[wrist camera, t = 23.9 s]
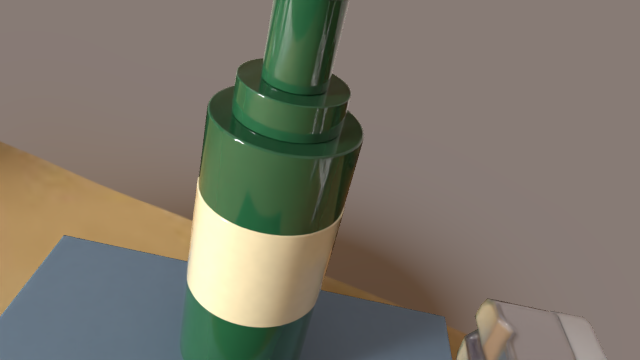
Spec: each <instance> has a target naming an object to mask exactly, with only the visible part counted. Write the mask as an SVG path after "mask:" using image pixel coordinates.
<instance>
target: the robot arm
mask: <svg viewBox="0 0 640 360" xmlns="http://www.w3.org/2000/svg"><path fill="white" fill-rule="evenodd" d="M475 319H476V323H477V328H478V329H477V330H475V331H474V332H472V333H470V334H468V335H466V336H465V337H464V339H463V341H462V343H461V345H460V348H459V350H458V353H457V358H456V360H608V359H607V357H606V355H605V353H604V351H603V349H602V347H601V345H600V343H599V340H598V338H597V336H596V335H595V332H594V330H593V328H592V326H591V324H590V323H589V322H588V321H587V320H586V319H585V318H584V317H580V316H575V315H570V314H564V313H559V312H554V311H550V312H549V311H545V310H540V309H536V308H531V307H526V306H521V305H517V304H512V303H508V302H502V301H498V300H493V299H486V300H485V301H484V302H483V303H482V304H481V306H480V308H479V309H478V311H477V313H476V315H475Z"/></svg>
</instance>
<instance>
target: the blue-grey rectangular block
mask: <svg viewBox="0 0 640 360" xmlns="http://www.w3.org/2000/svg"><path fill="white" fill-rule="evenodd" d="M187 264H188V262H187V261H183V260H178V259H173V258H169V257H164V256H159V255H155V254H150V253H145V252H141V251H136V250H131V249H127V248H122V247H117V246H113V245H108V244H103V243H99V242H94V241H89V240H85V239H80V238H75V237H71V236H66V235H64V236H63V237H62V238H61V240H60V241H59V242H58V244H57V245H56V246H55V247H54V249H53V250H52V251H51V252H50V254H49V255H48V256H47V258H46V259H45V260H44V261H43V263H42V264H41V265H40V267H39V268H38V269H37V270H36V272H35V273H34V274H33V275H32V277H31V278H30V279H29V281H28V282H27V283H26V284H25V286H24V287H23V288H22V289H21V291H20V292H19V293H18V295H17V296H16V297H15V298H14V300H13V301H12V302H11V304H10V305H9V306H8V307H7V309H6V310H5V311H4V312H3V314H2V315H1V316H0V360H183V357H182V355H181V351H180V343H179V340H180V331H181V323H182V315H183V306H184V298H185V290H186V282H187V276H186V272H187ZM300 360H452V356H451V350H450V345H449V339H448V333H447V327H446V321H445V317H443V316H439V315H435V314H430V313H425V312H420V311H416V310H411V309H407V308H402V307H397V306H393V305H388V304H383V303H379V302H374V301H369V300H365V299H360V298H355V297H351V296H346V295H341V294H337V293H332V292H327V291H323V290H321V291H320V295H319V298H318V300H317V302H316V305H315V308H314V312H313V315H312V319H311V322H310V326H309V329H308V332H307V336H306V339H305V343H304V346H303V350H302V353H301V357H300Z"/></svg>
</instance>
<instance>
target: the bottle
mask: <svg viewBox="0 0 640 360" xmlns="http://www.w3.org/2000/svg"><path fill="white" fill-rule="evenodd" d="M348 5H349V0H273V6H272V12H271V17H270V24H269V30H268V35H267V41H266V47H265V53H264V58H263V59H255V60H250V61H247V62H245V63H243V64H242V65H240V67H239V68H238V69H237V73H236V80H235V86H231V87H228V88H225V89H223V90H221V91H219V92H218V93H216V94H215V95H214V96H213V97H212V98H211V99H210V101H209V103H208V108H207V116H206V125H205V132H204V140H203V149H202V157H201V166H200V174H199V177H198V180H197V189H196V197H195V205H194V214H193V222H192V230H191V239H190V247H189V255H188V264H187V272H186V276H187V282H186V290H185V298H184V306H183V315H182V323H181V331H180V340H179V343H180V351H181V355H182V357H183V360H300V357H301V353H302V350H303V346H304V343H305V339H306V336H307V332H308V329H309V326H310V322H311V319H312V315H313V312H314V308H315V305H316V302H317V300H318V298H319V295H320V291H321V288H322V285H323V281H324V278H325V274H326V271H327V267H328V264H329V260H330V257H331V254H332V250H333V247H334V243H335V240H336V236H337V233H338V230H339V226H340V223H341V219H342V216H343V212H344V205H345V201H346V197H347V194H348V191H349V187H350V184H351V180H352V177H353V174H354V170H355V167H356V163H357V160H358V156H359V153H360V149H361V146H362V142H363V138H364V133H363V128H362V126H361V124H360V122H359V121H358V120H357V118H356V117H355V116H354V115H353V114H351V113H350V112H349V111H348V110H347V109H348V105H349V102H350V98H351V91H350V88H349V87H348V85H347V84H346V83H345V82H344V81H343V80H341V79H340V78H338V77H337V76H335V75H334V74H332V71H333V67H334V63H335V59H336V54H337V51H338V46H339V42H340V38H341V34H342V30H343V25H344V21H345V17H346V13H347V9H348Z"/></svg>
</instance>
